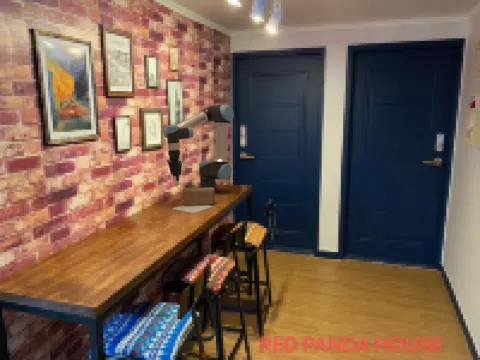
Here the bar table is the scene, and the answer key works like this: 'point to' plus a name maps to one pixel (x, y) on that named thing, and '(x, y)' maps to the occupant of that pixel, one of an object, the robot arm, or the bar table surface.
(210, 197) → the wooden block
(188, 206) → the mat
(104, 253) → the bar table surface
